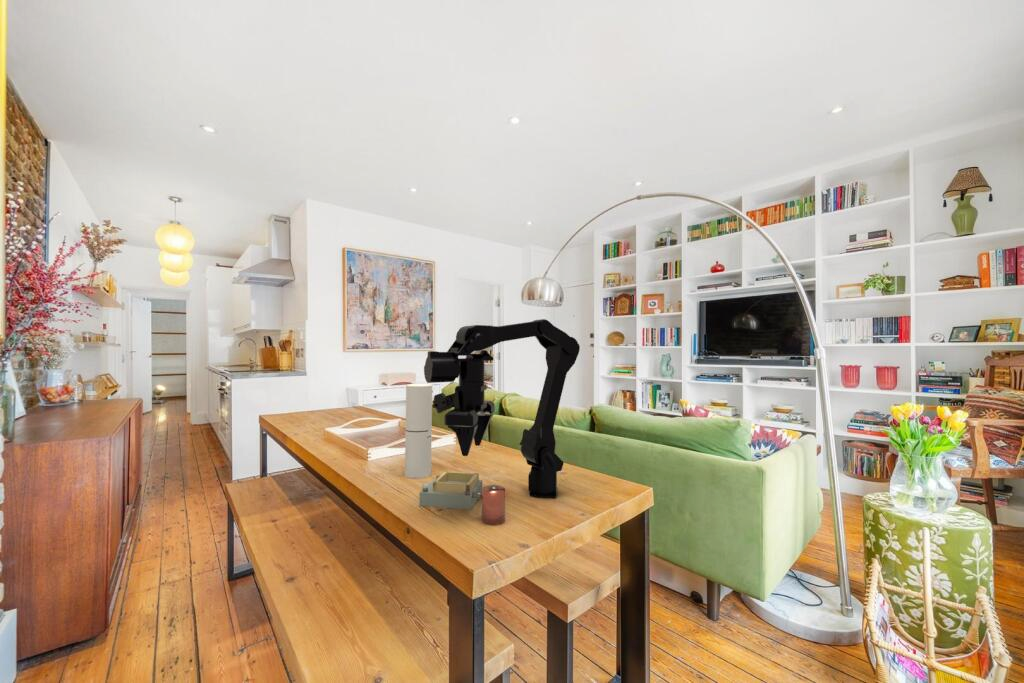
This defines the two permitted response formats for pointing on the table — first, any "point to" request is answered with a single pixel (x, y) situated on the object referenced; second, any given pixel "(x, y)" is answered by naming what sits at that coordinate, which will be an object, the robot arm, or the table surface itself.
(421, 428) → the cylindrical container
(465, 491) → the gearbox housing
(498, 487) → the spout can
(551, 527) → the table surface
